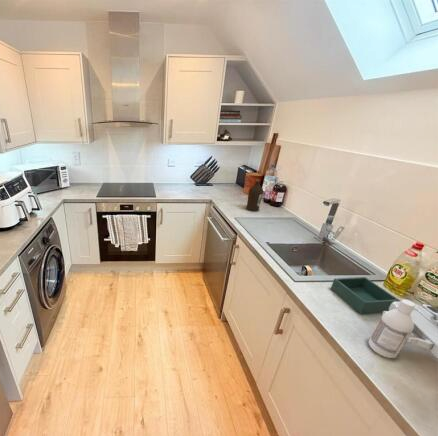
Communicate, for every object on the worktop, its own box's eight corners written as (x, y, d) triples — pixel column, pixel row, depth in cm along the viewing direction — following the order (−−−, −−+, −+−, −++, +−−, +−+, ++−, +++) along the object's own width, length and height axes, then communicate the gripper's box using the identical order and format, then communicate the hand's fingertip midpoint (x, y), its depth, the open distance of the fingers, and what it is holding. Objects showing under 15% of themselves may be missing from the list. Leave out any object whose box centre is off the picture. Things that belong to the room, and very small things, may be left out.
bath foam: (377, 338, 82) (403, 292, 74) (401, 356, 76) (432, 308, 68) (362, 342, 80) (386, 296, 72) (386, 361, 74) (415, 313, 66)
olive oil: (243, 209, 194) (249, 180, 184) (247, 206, 201) (253, 177, 191) (257, 212, 188) (263, 182, 178) (260, 209, 195) (267, 179, 185)
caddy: (360, 286, 106) (365, 276, 104) (394, 311, 93) (400, 300, 91) (330, 288, 105) (334, 278, 103) (360, 313, 92) (365, 302, 90)
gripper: (480, 373, 63) (419, 364, 65) (415, 315, 81) (369, 309, 84) (494, 357, 60) (430, 348, 63) (423, 300, 79) (376, 295, 81)
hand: (395, 325), depth 73 cm, fingers open, 8 cm apart
